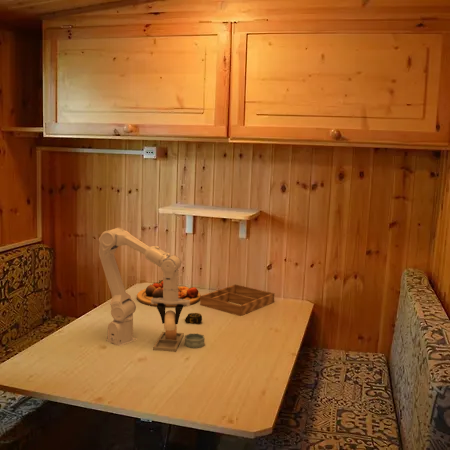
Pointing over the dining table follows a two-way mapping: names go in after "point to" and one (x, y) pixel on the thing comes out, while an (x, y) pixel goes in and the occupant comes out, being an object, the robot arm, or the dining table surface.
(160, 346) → the divided tray
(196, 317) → the tape measure
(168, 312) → the tan rounded cylinder
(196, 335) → the octagonal bowl
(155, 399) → the dining table surface
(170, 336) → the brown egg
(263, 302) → the wooden compartment tray
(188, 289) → the wooden plate with food
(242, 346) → the dining table surface
